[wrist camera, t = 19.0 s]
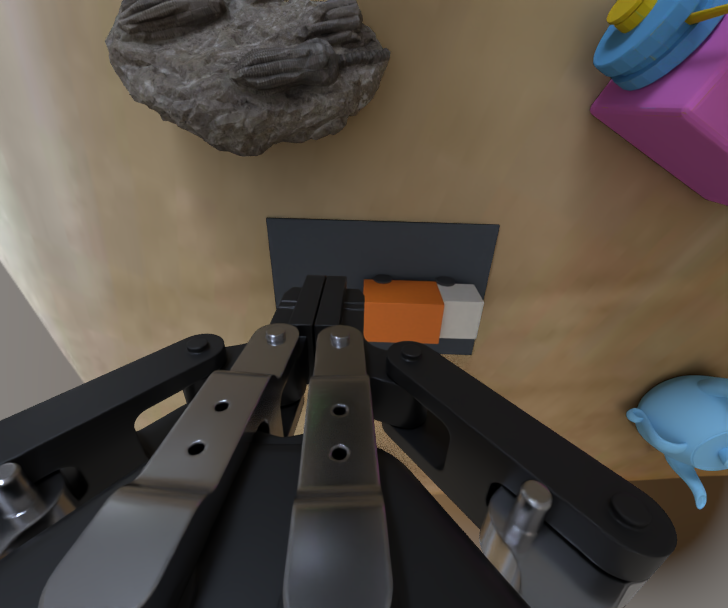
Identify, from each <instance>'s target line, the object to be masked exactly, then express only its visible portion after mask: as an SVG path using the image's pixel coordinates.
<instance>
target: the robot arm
mask: <svg viewBox="0 0 728 608" xmlns="http://www.w3.org/2000/svg"><path fill="white" fill-rule="evenodd" d="M364 305H365V295H364V294H363V293H362V291H361V290H360V289H347V277H346V276H327V277H326V275H307V276H306V278H305V281H304V284H303V286H302V287H292V288H291V289H289V290H288V291H286V292H285V293H284V295H283V297H282V299H281V302H280V303H279V306H278V308H277V310H276V312H275V314H274V316H273V318H272V321H271V323H270V324H269V325H266V326H263V327H261V328H259V329H258V330H257V331H255V333H254V334H253V335H252V337H251V339H250V340H249V342H248V343H246V344H241V345H235V346H229V347H225V345H224V341H223V339H222V338H221V337H219V336H217V335H214V334H199V335H194V336H191V337H188V338H186V339H183V340H181V341H179V342H177V343H174V344H172V345H170V346H168V347H165V348H163V349H161V350H159V351H156V352H154V353H152V354H150V355H147V356H145V357H143V358H141V359H138V360H136V361H134V362H132V363H129V364H127V365H125V366H123V367H120V368H118V369H116V370H114V371H111V372H109V373H107V374H105V375H102V376H100V377H98V378H96V379H93V380H91V381H89V382H87V383H84V384H82V385H80V386H78V387H76V388H73V389H71V390H69V391H66V392H64V393H62V394H60V395H58V396H55V397H53V398H51V399H49V400H46V401H44V402H42V403H39V404H37V405H35V406H33V407H30V408H28V409H27V410H24V411H21V412H19V413H17V414H15V415H12V416H10V417H8V418H6V419H3V420H1V421H0V608H624V607H625V606H626V604H627V603H628V602H629V601H630V600H631V599H632V598H633V596H634V595H635V594H636V593H637V592H638V591H639V590H640V588H641V587H642V586H643V585H644V584H645V583H646V582H647V581H648V579H649V578H650V577H651V576H652V575H653V574H654V573H655V571H656V570H657V569H658V568H659V567H660V566H661V565H662V563H663V562H664V561H665V560H666V559H667V558H668V557H669V555H670V554H671V553H672V552H673V551H674V549H675V547H676V544H677V534H676V531H675V528H674V526H673V524H672V522H671V520H670V518H669V517H668V515H667V514H666V513H665V511H664V510H663V509H662V508H661V507H660V506H659V505H658V504H657V502H655V501H654V500H653V499H652V498H651V497H649V496H648V495H647V494H646V493H644V492H643V491H641V490H640V489H639V488H637V487H636V486H634V485H633V484H631V483H630V482H628V481H627V480H625V479H624V478H622V477H621V476H619V475H618V474H616V473H615V472H613V471H612V470H610V469H609V468H607V467H606V466H604V465H603V464H602V463H600V462H599V461H597V460H596V459H594V458H593V457H591V456H590V455H588V454H587V453H585V452H584V451H582V450H581V449H579V448H578V447H576V446H575V445H573V444H572V443H570V442H569V441H567V440H566V439H564V438H563V437H561V436H560V435H559V434H557V433H556V432H554V431H553V430H551V429H550V428H548V427H547V426H545V425H544V424H542V423H541V422H539V421H538V420H536V419H535V418H533V417H532V416H530V415H529V414H527V413H526V412H524V411H523V410H521V409H520V408H518V407H517V406H516V405H514V404H513V403H511V402H510V401H508V400H507V399H505V398H504V397H502V396H501V395H499V394H498V393H496V392H495V391H493V390H492V389H490V388H489V387H487V386H486V385H484V384H483V383H481V382H480V381H478V380H477V379H475V378H474V377H473V376H471V375H470V374H468V373H467V372H465V371H464V370H462V369H461V368H459V367H458V366H456V365H455V364H453V363H452V362H450V361H449V360H447V359H446V358H444V357H443V356H441V355H440V354H438V353H437V352H435V351H434V350H432V349H431V348H430V347H428V346H426V345H424V344H422V343H419V342H415V341H401V342H397V343H394V344H393V345H391V346H390V347H389V348H388V350H384V349H380V348H377V347H375V346H373V345H371V344H370V343H369V342H368V341H367V340H366V339H365V338H364ZM307 384H309V390H308V399H307V407H306V416H305V425H304V433H303V434H301V435H295V436H294V433H295V430H296V427H297V424H298V421H299V418H300V415H301V412H302V409H303V405H304V393H305V390H306V385H307ZM181 390H183V392H184V396H185V399H186V402H187V404H185V405H183V406H181V407H180V408H178V409H176V410H174V411H173V412H171V413H169V414H167V415H166V416H164V417H162V418H160V419H159V420H157V421H155V422H154V423H152V424H150V425H148V426H147V427H145V428H143V429H141V430H139V431H135V428H134V424H135V421H136V419H137V417H138V416H139V415H140V414H141V413H142V412H143V411H145V410H146V409H148V408H150V407H152V406H154V405H156V404H157V403H159V402H161V401H163V400H165V399H167V398H168V397H170V396H172V395H174V394H176V393H178V392H179V391H181ZM374 420H377V421H381V422H382V427H383V429H384V431H385V432H386V434H387V435H388V436H389V437H390V438H391V439H392V440H393V441H394V442H395V443H396V444H397V445H398V446H399V447H400V448H401V449H402V450H403V451H404V452H405V453H406V454H407V455H408V456H409V457H410V458H411V459H412V460H413V461H414V462H415V463H416V464H417V465H418V467H419V468H420V469H421V470H422V471H423V472H424V473H425V474H426V475H427V476H428V477H429V478H430V479H431V480H432V481H433V482H434V483H435V484H436V485H437V486H438V487H439V488H440V489H441V490H442V491H443V492H444V493H445V494H446V495H447V496H448V497H449V498H450V499H451V500H452V501H453V502H454V503H455V504H456V505H457V506H458V507H459V508H460V509H461V511H462V512H464V513H465V515H466V516H468V518H469V519H470V520H471V521H472V522H473V523H474V524H475V525H476V526H477V527H478V528H479V529H480V535H479V539H480V545H481V549H482V551H483V553H482V552H481V550H480V549H479V548H478V547H477V546H476V545H475V544H474V543H473V541H472V540H471V539H470V538H469V537H468V536H467V535H466V533H465V532H464V531H463V530H462V529H461V528H460V527H459V526H458V524H457V523H456V522H455V521H454V520H453V519H452V518H451V516H450V515H449V514H448V513H447V512H446V511H445V510H444V509H443V507H442V506H441V505H440V504H439V503H438V502H437V501H436V500H435V498H434V497H433V496H432V495H431V494H430V493H429V492H428V490H427V489H426V488H425V487H424V486H423V485H422V484H421V482H420V481H419V480H418V479H417V478H416V477H415V476H414V475H413V473H412V472H411V471H410V470H409V469H408V468H407V467H406V466H405V465H404V464H403V463H401V462H400V461H399V460H398V459H397V458H395V457H394V456H392V455H391V454H389V453H387V452H385V451H384V450H382V449H379V448H377V446H376V436H375V427H374Z"/></svg>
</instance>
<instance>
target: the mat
mask: <svg viewBox="0 0 728 608" xmlns="http://www.w3.org/2000/svg"><path fill="white" fill-rule="evenodd" d="M266 222H267V230H268V239H269V248H270V257H271V266H272V275H273V284H274V292H275V301H276V310H277V308H278V306H279V303H280V302H281V299H282V297H283V295H284V293H285V292H286V291H288V290H289V289H291V288H292V287H302V286H303V284H304V281H305V278H306V276H307V275H326V277H327V276H346V277H347V289H360V290H361V291H362V293H363V288H364V279H372V280H373V278H374V276H376V275H380V274H383V275H388V276H390V277H391V278H392V280H404V281H436V279H437V278H438V277H441V276H447V277H451V278H453V279H454V280H455V284H474V286H475V287H476V289H477V291H478V293H479V294H480V296H481V298H482V300H483V299H484V295H485V290H486V286H487V281H488V277H489V272H490V268H491V263H492V258H493V254H494V249H495V245H496V240H497V236H498V231H499V227H500V225H494V224H461V223H428V222H396V221H363V220H330V219H297V218H266ZM474 340H475V339H457V338H439V343H438V344H426V343H422V344H424V345H426V346H428V347H430V348H431V349H432V350H434V351H435V352H437V353H438V354H457V355H471V354H472V349H473V345H474ZM369 343H370V344H371V345H373V346H375V347H377V348H380V349H384V350H388V348H389V347H390V346H391V345H393V344H394V343H395V342H369Z"/></svg>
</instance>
